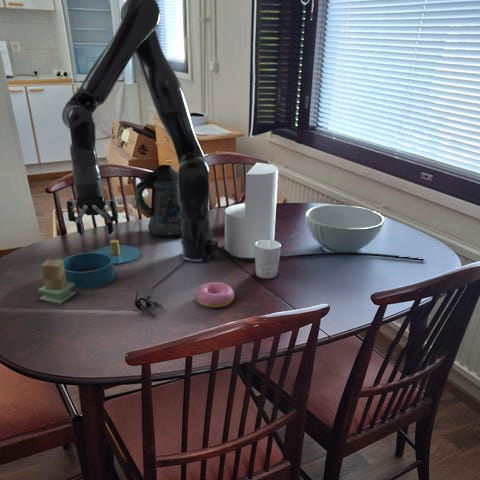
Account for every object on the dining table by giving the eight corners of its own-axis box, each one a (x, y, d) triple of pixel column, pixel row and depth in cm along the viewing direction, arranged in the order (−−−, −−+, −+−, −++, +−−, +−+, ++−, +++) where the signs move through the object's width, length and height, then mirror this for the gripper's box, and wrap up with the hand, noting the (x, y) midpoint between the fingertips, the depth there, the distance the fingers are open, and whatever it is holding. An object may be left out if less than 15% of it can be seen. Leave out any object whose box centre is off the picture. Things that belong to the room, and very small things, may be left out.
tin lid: (149, 252, 165) (148, 236, 162) (124, 269, 151) (122, 253, 149) (109, 245, 169) (107, 230, 166) (81, 261, 156) (78, 245, 153)
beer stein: (201, 231, 183) (199, 165, 171) (168, 247, 169) (164, 175, 156) (167, 223, 191) (164, 159, 178) (133, 237, 176) (127, 168, 164)
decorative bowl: (293, 255, 164) (296, 221, 158) (313, 231, 186) (316, 201, 180) (372, 269, 156) (378, 233, 150) (383, 242, 177) (389, 210, 171)
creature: (163, 307, 132) (134, 302, 131) (166, 290, 130) (136, 285, 128) (161, 321, 126) (130, 316, 124) (164, 303, 123) (133, 298, 122)
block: (66, 282, 134) (62, 259, 131) (61, 289, 130) (57, 266, 127) (51, 282, 134) (46, 259, 131) (45, 289, 130) (40, 265, 127)
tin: (124, 273, 149) (122, 256, 146) (95, 293, 137) (92, 276, 134) (83, 265, 153) (80, 249, 151) (51, 284, 141) (48, 267, 138)
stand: (76, 294, 136) (74, 283, 134) (60, 305, 130) (58, 293, 128) (56, 290, 138) (54, 279, 136) (39, 300, 132) (37, 289, 130)
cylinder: (277, 243, 174) (282, 164, 160) (268, 261, 160) (273, 176, 146) (231, 238, 178) (232, 160, 164) (219, 255, 163) (219, 171, 149)
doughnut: (239, 307, 131) (239, 294, 129) (199, 312, 128) (199, 298, 126) (228, 290, 140) (228, 277, 138) (191, 294, 137) (191, 281, 135)
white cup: (281, 271, 153) (283, 241, 148) (275, 281, 146) (277, 250, 141) (258, 267, 155) (259, 238, 150) (250, 277, 148) (251, 246, 143)
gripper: (115, 176, 140) (122, 229, 148) (66, 177, 140) (75, 230, 148) (110, 183, 134) (117, 238, 142) (58, 183, 133) (69, 238, 141)
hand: (96, 233), depth 145 cm, fingers open, 8 cm apart
